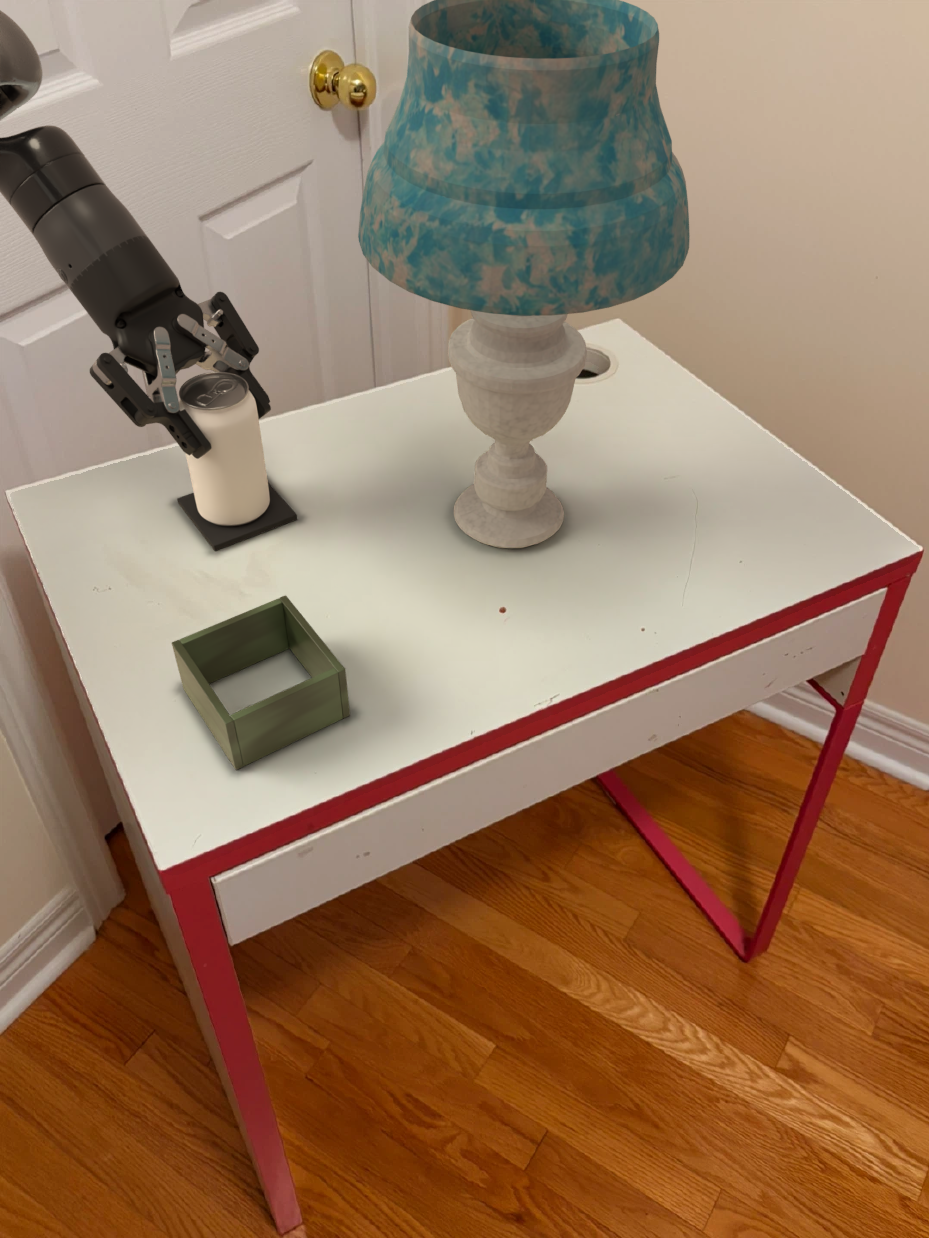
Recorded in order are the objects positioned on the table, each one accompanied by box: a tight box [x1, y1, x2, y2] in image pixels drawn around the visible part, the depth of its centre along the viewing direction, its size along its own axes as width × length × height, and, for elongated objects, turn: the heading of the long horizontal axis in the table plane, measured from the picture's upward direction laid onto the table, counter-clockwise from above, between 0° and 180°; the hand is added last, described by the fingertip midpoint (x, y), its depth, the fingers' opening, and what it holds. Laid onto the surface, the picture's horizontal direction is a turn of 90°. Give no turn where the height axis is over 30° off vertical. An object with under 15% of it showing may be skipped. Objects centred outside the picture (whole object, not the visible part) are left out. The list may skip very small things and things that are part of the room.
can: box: [178, 371, 270, 526], centre depth 90 cm, size 6×6×12 cm
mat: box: [176, 482, 298, 552], centre depth 94 cm, size 8×8×1 cm
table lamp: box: [357, 0, 691, 549], centre depth 80 cm, size 24×24×40 cm
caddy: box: [171, 594, 351, 771], centre depth 76 cm, size 9×9×5 cm
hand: (235, 433), depth 87 cm, fingers closed on can, 6 cm apart
